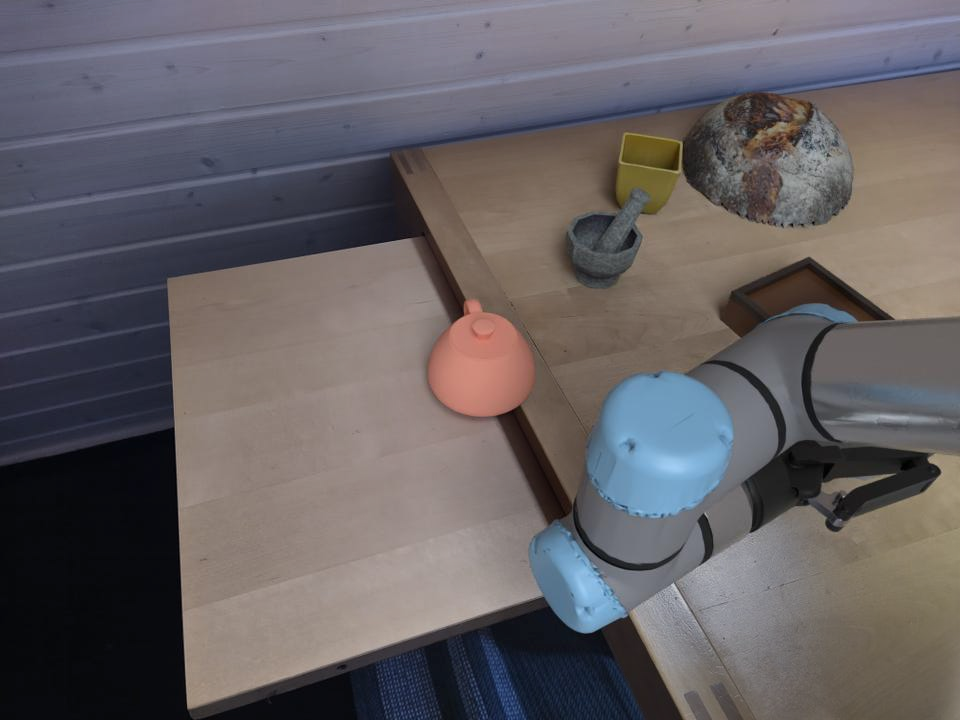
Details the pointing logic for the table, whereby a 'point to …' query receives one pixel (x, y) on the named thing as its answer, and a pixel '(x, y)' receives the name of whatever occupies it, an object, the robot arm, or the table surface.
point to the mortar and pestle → (606, 242)
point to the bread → (770, 160)
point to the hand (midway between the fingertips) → (908, 378)
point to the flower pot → (648, 168)
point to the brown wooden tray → (795, 297)
